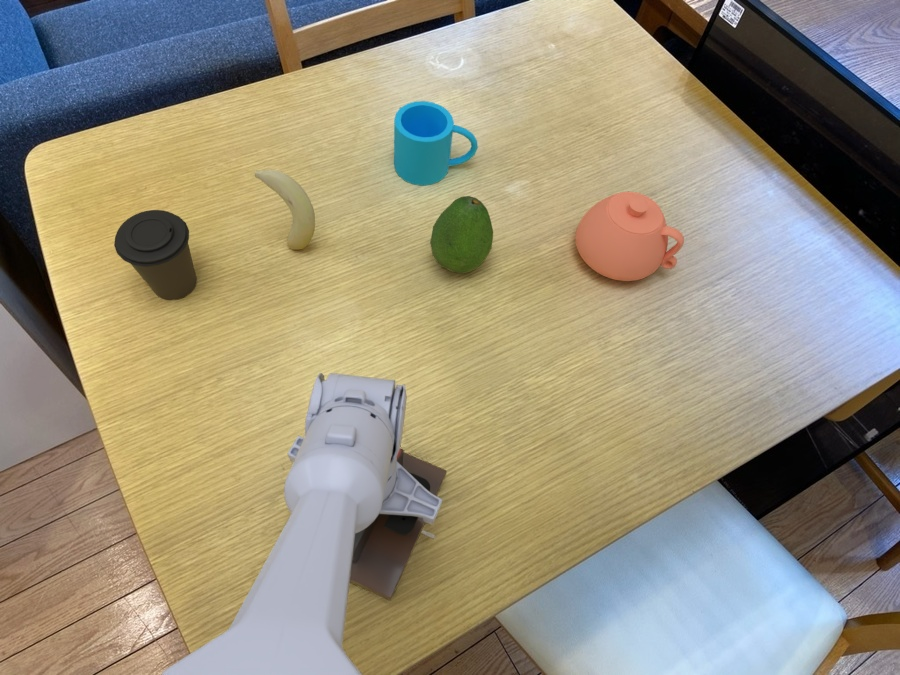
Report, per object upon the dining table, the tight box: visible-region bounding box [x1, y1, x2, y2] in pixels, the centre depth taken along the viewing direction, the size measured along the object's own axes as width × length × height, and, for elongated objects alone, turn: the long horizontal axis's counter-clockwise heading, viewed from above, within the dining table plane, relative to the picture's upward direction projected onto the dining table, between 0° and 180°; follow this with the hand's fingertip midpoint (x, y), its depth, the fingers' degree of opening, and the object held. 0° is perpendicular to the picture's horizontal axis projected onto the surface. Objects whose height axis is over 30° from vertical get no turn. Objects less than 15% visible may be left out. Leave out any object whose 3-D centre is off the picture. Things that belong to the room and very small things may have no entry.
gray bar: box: [352, 447, 405, 564], centre depth 62 cm, size 11×3×5 cm, turn 157°
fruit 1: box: [254, 169, 316, 250], centre depth 78 cm, size 6×12×3 cm
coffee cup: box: [113, 209, 198, 301], centre depth 75 cm, size 8×8×10 cm
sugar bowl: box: [574, 191, 685, 282], centre depth 83 cm, size 12×14×10 cm
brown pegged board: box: [349, 451, 448, 602], centre depth 66 cm, size 15×15×2 cm
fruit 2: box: [429, 195, 494, 274], centre depth 79 cm, size 8×8×12 cm
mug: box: [393, 100, 479, 186], centre depth 90 cm, size 12×8×8 cm
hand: (367, 504), depth 64 cm, fingers open, 6 cm apart
